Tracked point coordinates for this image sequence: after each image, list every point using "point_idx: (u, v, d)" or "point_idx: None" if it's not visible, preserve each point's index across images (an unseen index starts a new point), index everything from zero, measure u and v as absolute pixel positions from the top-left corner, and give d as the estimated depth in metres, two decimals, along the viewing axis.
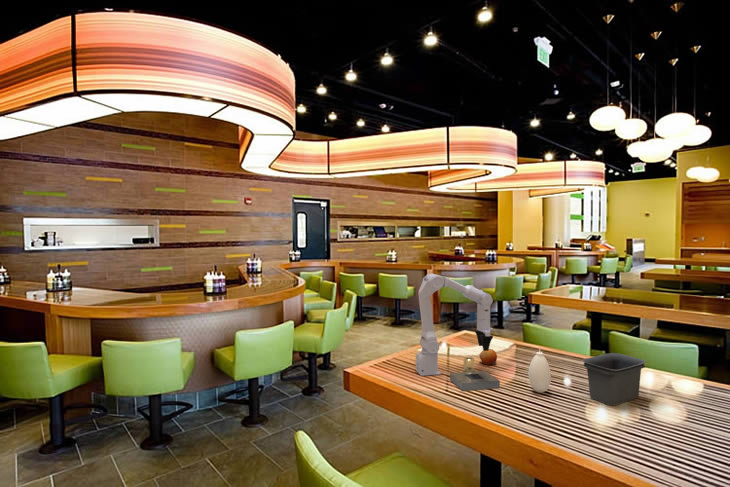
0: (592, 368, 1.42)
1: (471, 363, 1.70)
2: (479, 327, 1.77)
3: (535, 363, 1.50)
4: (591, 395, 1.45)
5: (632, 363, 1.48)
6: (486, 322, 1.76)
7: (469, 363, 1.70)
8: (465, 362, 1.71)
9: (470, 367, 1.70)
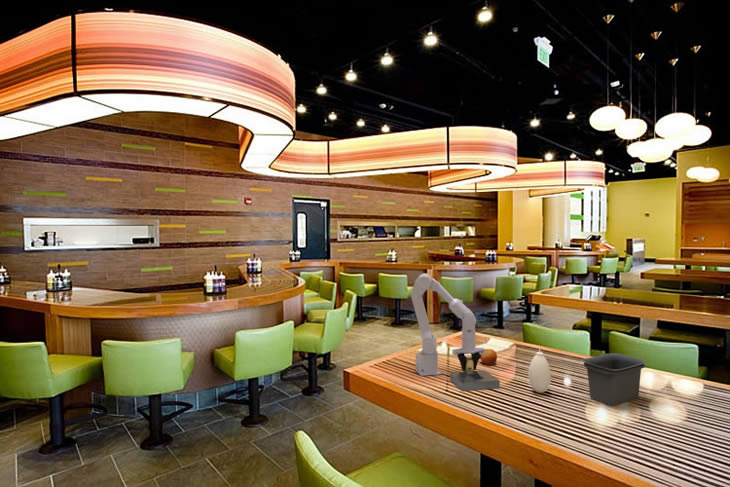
0: (592, 368, 1.42)
1: (471, 363, 1.70)
2: None
3: (535, 363, 1.50)
4: (591, 395, 1.45)
5: (632, 363, 1.48)
6: (463, 342, 1.71)
7: (469, 363, 1.70)
8: None
9: (470, 367, 1.70)
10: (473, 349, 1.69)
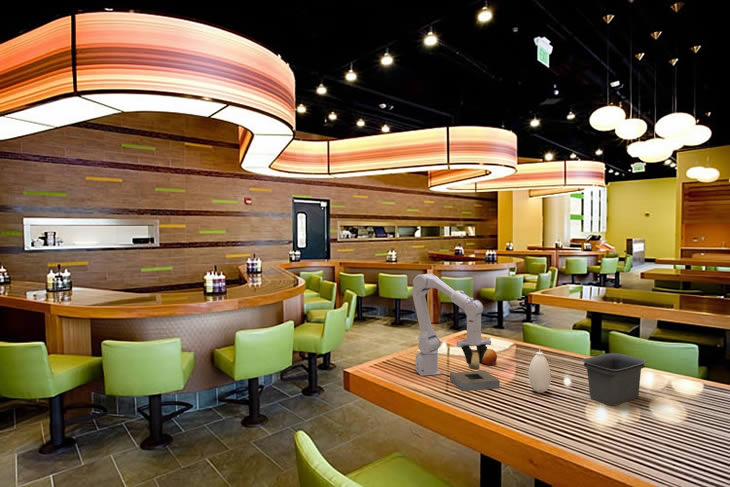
0: (592, 368, 1.42)
1: (476, 356, 1.59)
2: None
3: (535, 363, 1.50)
4: (591, 395, 1.45)
5: (632, 363, 1.48)
6: (468, 333, 1.60)
7: (474, 355, 1.59)
8: None
9: (475, 360, 1.59)
10: (479, 341, 1.58)
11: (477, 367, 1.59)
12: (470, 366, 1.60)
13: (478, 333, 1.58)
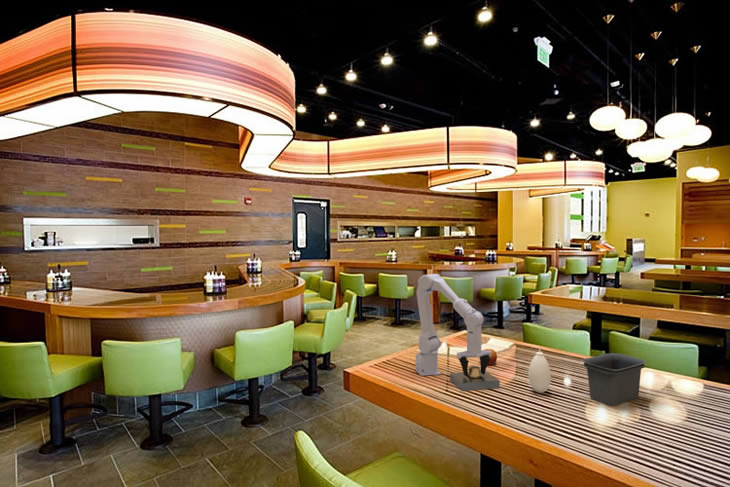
0: (592, 368, 1.42)
1: (477, 372, 1.58)
2: None
3: (535, 363, 1.50)
4: (591, 395, 1.45)
5: (632, 363, 1.48)
6: (468, 345, 1.59)
7: (474, 372, 1.58)
8: (470, 371, 1.59)
9: (476, 376, 1.58)
10: (479, 352, 1.58)
11: None
12: None
13: (478, 344, 1.58)
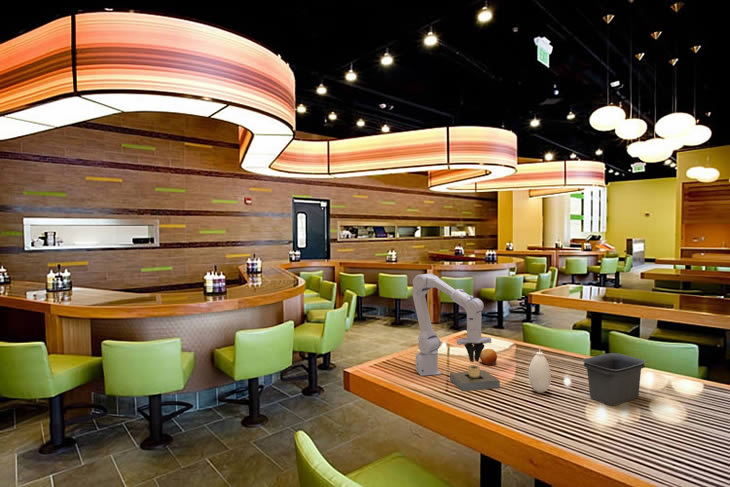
0: (592, 368, 1.42)
1: (477, 372, 1.58)
2: None
3: (535, 363, 1.50)
4: (591, 395, 1.45)
5: (632, 363, 1.48)
6: (468, 331, 1.59)
7: (474, 372, 1.58)
8: (470, 371, 1.59)
9: (476, 376, 1.58)
10: (479, 339, 1.58)
11: None
12: None
13: (478, 331, 1.58)
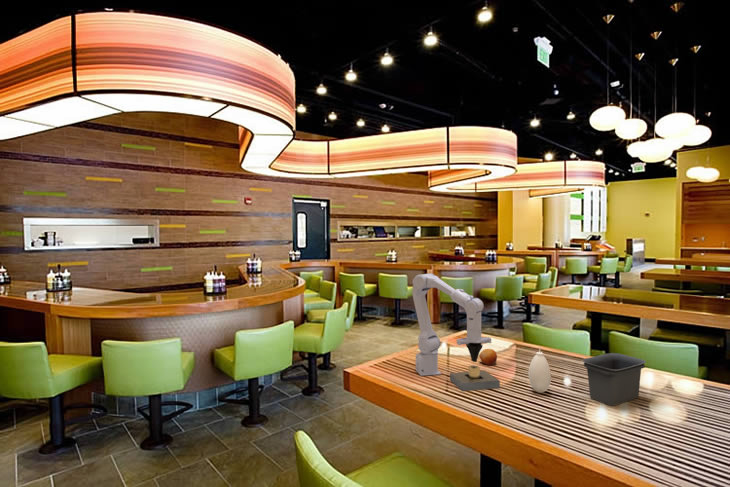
0: (592, 368, 1.42)
1: (477, 372, 1.58)
2: None
3: (535, 363, 1.50)
4: (591, 395, 1.45)
5: (632, 363, 1.48)
6: (468, 331, 1.59)
7: (474, 372, 1.58)
8: (470, 371, 1.59)
9: (476, 376, 1.58)
10: (479, 339, 1.58)
11: None
12: None
13: (478, 331, 1.58)
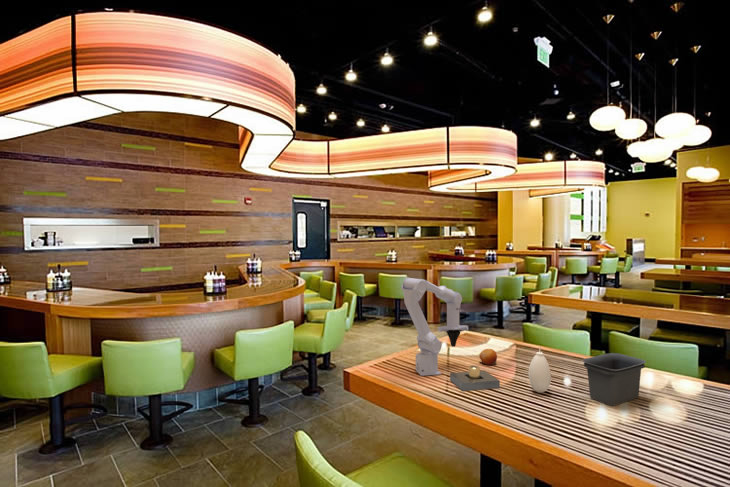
0: (592, 368, 1.42)
1: (477, 372, 1.58)
2: None
3: (535, 363, 1.50)
4: (591, 395, 1.45)
5: (632, 363, 1.48)
6: (448, 320, 1.82)
7: (474, 372, 1.58)
8: (470, 371, 1.59)
9: (476, 376, 1.58)
10: (457, 326, 1.81)
11: None
12: None
13: (456, 319, 1.80)
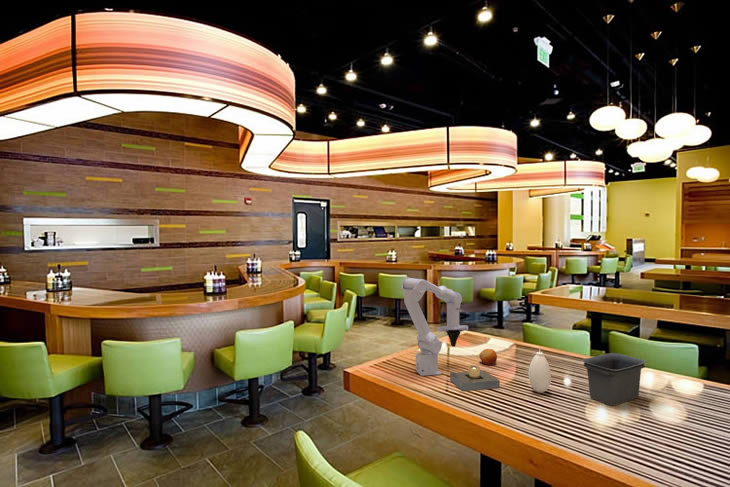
0: (592, 368, 1.42)
1: (477, 372, 1.58)
2: None
3: (535, 363, 1.50)
4: (591, 395, 1.45)
5: (632, 363, 1.48)
6: (448, 320, 1.82)
7: (474, 372, 1.58)
8: (470, 371, 1.59)
9: (476, 376, 1.58)
10: (457, 326, 1.81)
11: None
12: None
13: (456, 319, 1.80)
